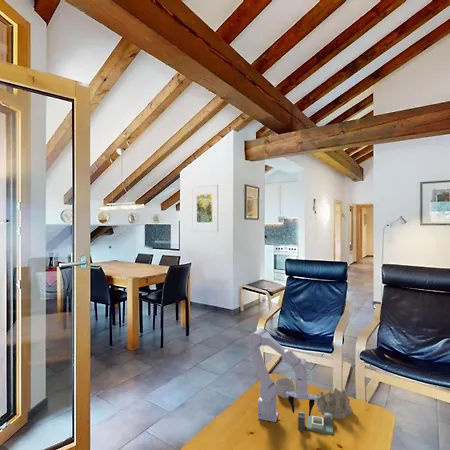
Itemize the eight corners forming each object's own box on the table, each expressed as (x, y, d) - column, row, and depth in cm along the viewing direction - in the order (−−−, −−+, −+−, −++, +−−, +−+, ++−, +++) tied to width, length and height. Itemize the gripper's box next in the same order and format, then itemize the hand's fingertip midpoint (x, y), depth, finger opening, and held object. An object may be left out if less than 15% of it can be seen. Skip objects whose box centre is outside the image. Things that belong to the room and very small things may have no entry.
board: (306, 429, 151) (306, 420, 151) (307, 417, 160) (307, 408, 160) (332, 434, 147) (332, 425, 147) (332, 421, 157) (332, 413, 157)
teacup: (287, 402, 174) (286, 388, 174) (271, 395, 182) (271, 381, 182) (301, 393, 183) (301, 380, 183) (286, 386, 191) (286, 373, 191)
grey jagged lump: (357, 413, 163) (354, 384, 164) (331, 422, 157) (329, 392, 158) (336, 400, 178) (333, 373, 178) (312, 407, 171) (310, 380, 172)
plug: (298, 429, 151) (298, 415, 151) (298, 424, 155) (298, 411, 155) (304, 430, 150) (304, 417, 150) (305, 425, 154) (304, 412, 154)
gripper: (285, 387, 151) (285, 415, 151) (316, 392, 147) (316, 420, 147) (287, 380, 158) (287, 407, 158) (316, 384, 153) (317, 412, 153)
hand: (301, 413), depth 153 cm, fingers open, 7 cm apart
